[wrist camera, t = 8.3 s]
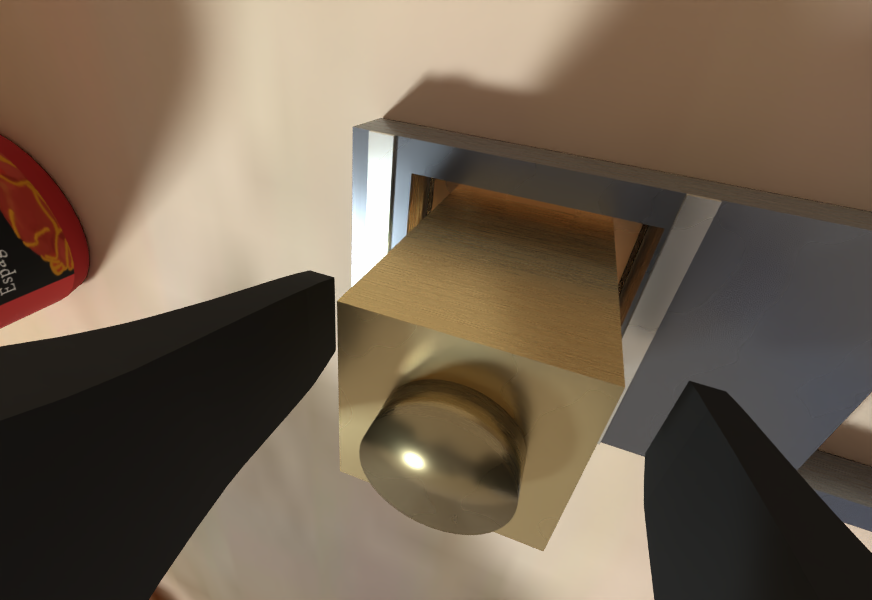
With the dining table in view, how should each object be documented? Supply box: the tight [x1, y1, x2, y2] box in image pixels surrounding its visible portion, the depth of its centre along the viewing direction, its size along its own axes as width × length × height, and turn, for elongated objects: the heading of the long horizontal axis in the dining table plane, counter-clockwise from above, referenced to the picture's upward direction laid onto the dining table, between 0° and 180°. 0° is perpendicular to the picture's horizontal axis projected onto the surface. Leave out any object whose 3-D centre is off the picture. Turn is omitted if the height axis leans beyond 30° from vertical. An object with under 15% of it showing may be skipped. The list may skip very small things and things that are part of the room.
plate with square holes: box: [352, 118, 872, 532], centre depth 10 cm, size 7×19×2 cm, turn 83°
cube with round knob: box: [337, 189, 625, 551], centre depth 9 cm, size 4×4×7 cm
